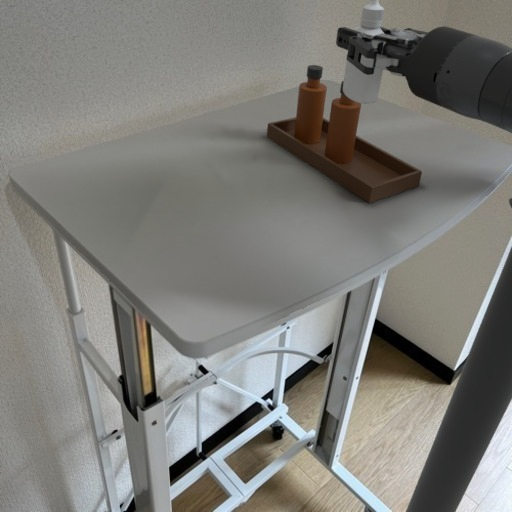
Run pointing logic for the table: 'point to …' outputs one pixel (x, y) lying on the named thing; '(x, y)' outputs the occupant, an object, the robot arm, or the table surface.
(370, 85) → the eye dropper bottle
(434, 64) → the robot arm
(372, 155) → the tray
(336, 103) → the amber bottle middle
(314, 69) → the amber bottle far
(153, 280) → the table surface
